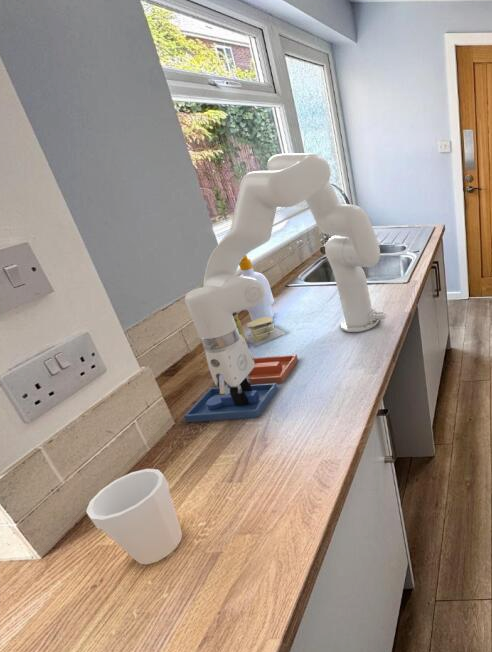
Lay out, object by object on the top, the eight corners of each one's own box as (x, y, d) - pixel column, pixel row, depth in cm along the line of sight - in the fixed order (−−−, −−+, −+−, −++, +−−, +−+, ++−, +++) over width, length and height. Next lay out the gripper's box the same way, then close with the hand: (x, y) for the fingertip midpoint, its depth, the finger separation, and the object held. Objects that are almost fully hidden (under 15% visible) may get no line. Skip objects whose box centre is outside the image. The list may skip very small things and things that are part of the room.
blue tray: (278, 388, 108) (276, 382, 108) (258, 417, 98) (256, 410, 97) (213, 393, 108) (210, 387, 107) (186, 422, 98) (183, 416, 97)
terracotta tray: (298, 360, 121) (296, 354, 120) (282, 382, 111) (280, 376, 110) (240, 364, 120) (237, 358, 120) (218, 387, 110) (216, 381, 109)
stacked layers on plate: (256, 346, 130) (250, 331, 128) (243, 338, 135) (238, 324, 133) (286, 333, 137) (281, 318, 135) (273, 326, 142) (269, 312, 140)
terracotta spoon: (283, 366, 118) (281, 359, 116) (277, 375, 114) (274, 367, 113) (241, 369, 117) (238, 362, 116) (233, 378, 113) (230, 371, 112)
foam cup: (150, 523, 73) (118, 471, 67) (203, 518, 73) (176, 465, 68) (109, 577, 64) (69, 523, 59) (170, 571, 65) (135, 516, 59)
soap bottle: (247, 327, 142) (224, 263, 132) (248, 316, 151) (226, 255, 140) (279, 320, 146) (259, 257, 136) (278, 309, 155) (259, 249, 144)
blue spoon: (261, 395, 105) (259, 387, 104) (253, 406, 101) (250, 398, 100) (213, 398, 104) (210, 391, 103) (203, 409, 100) (200, 402, 99)
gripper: (218, 355, 88) (244, 421, 95) (253, 321, 102) (273, 381, 110) (182, 357, 87) (212, 423, 95) (223, 323, 102) (245, 383, 110)
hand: (245, 400), depth 103 cm, fingers closed on blue spoon, 2 cm apart
